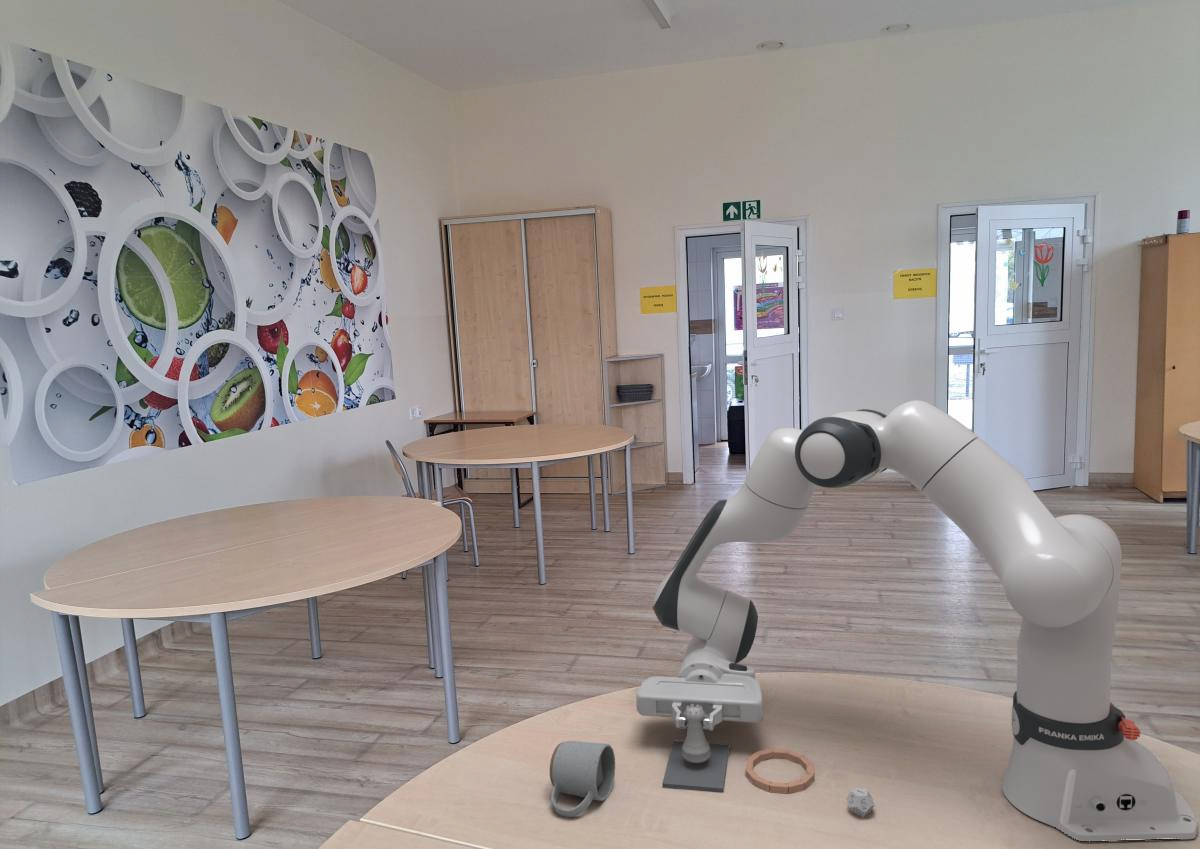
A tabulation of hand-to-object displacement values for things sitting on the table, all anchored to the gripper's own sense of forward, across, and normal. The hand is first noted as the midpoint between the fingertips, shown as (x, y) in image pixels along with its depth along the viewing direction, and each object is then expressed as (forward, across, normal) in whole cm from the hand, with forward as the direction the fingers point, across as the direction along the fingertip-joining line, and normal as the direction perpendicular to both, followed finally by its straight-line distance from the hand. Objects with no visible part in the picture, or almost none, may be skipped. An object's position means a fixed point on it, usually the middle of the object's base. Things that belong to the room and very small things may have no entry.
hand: (694, 724), depth 122 cm
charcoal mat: (-1, 0, +7) cm, 7 cm away
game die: (+7, +24, +8) cm, 26 cm away
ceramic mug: (+9, -16, +8) cm, 20 cm away
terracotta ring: (-1, +13, +7) cm, 15 cm away
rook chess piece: (-1, 0, +6) cm, 6 cm away
